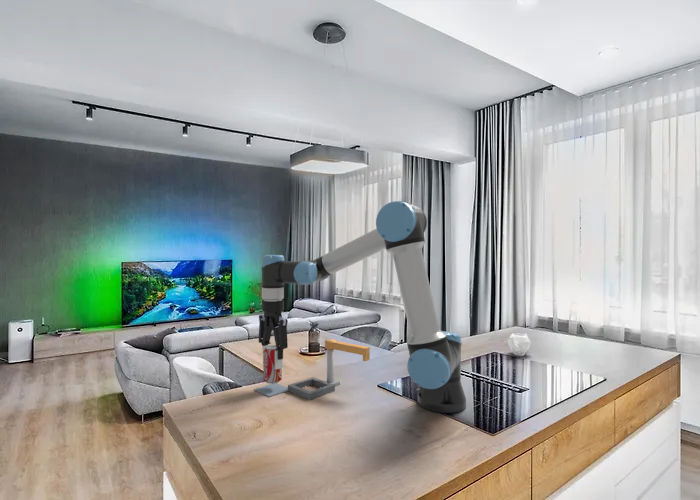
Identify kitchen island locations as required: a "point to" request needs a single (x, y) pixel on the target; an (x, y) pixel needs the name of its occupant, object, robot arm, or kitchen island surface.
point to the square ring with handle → (317, 382)
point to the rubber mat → (272, 389)
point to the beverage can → (270, 366)
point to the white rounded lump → (519, 343)
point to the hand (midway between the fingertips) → (272, 366)
